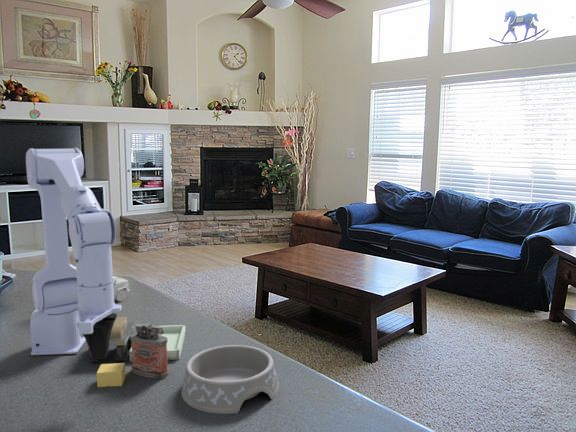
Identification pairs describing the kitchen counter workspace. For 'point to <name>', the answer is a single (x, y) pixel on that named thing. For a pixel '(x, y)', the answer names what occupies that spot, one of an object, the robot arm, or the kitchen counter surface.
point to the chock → (111, 375)
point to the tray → (172, 341)
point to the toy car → (120, 288)
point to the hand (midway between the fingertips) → (100, 357)
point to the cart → (119, 338)
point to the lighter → (149, 351)
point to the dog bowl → (228, 378)
